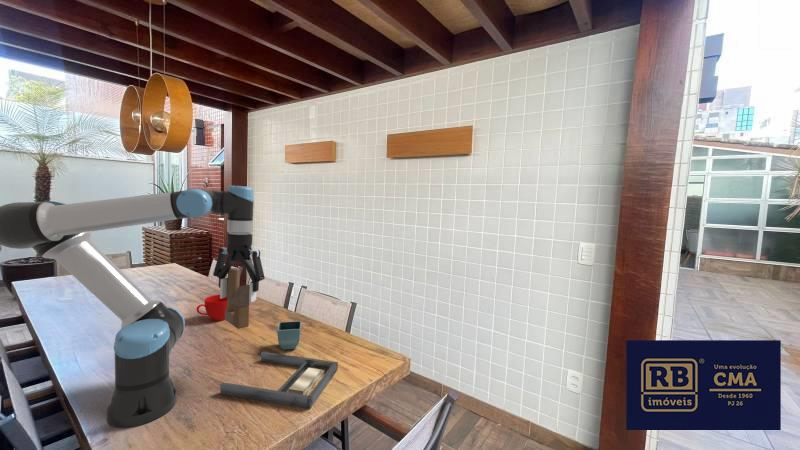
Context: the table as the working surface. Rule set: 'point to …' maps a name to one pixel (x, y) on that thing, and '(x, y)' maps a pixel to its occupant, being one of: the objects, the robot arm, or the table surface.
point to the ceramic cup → (214, 307)
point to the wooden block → (237, 300)
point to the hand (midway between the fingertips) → (238, 299)
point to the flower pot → (289, 334)
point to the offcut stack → (306, 381)
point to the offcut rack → (282, 394)
